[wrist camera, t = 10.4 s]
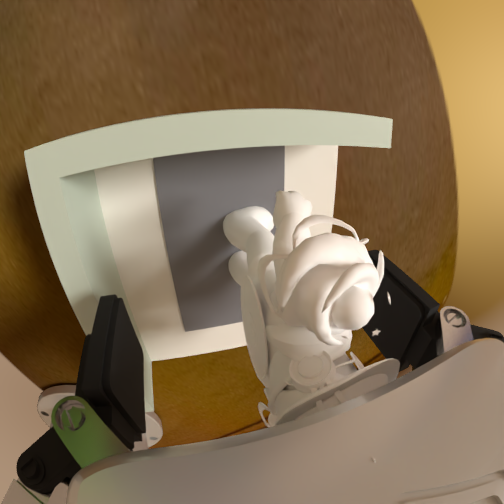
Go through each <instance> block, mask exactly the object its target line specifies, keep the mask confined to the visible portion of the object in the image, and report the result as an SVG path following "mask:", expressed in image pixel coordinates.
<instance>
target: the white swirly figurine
mask: <svg viewBox="0 0 504 504" xmlns="http://www.w3.org/2000/svg"><path fill="white" fill-rule="evenodd" d="M311 212H312V204H311V202H310V201H308V200H306V199H304V198H303V197H302V196H301V194H300V193H298V192H296V191H288V192H285V191H281V190H279V191H277V192H276V203H275V208H274V212H273V217H272V215H271V214H270V212H269V211H268V210H266V209H265V208H263V207H258V206H251V207H246V208H243V209H239V210H235V211H233V212H231V213H230V214H228V215H226V217H225V219H224V221H223V230H224V234H225V236H226V237H227V239H228V240H229V242H230V243H231V244H232V245H234V246H235V247H237V248H238V249H240V250H242V251H239V252H235V253H234V254H233V255H232V256H231V258H230V260H229V264H228V267H229V271H230V274H231V276H232V277H233V279H234V280H235V281H236V282H237V283H238V284H239V285H240V286H241V311H242V320H243V327H244V333H245V338H246V343H247V347H248V351H249V355H250V358H251V361H252V364H253V367H254V369H255V371H256V375H257V377H258V378H259V380H260V381H261V382H262V383H263V384H264V386H265V387H266V388H264V392H265V394H266V396H267V399H268V401H269V402H268V407H269V408H268V407H267V406H266V405H265V404H263V403H261V402H260V403H259V404H258V409H259V412H260V415H261V417H262V420H263V421H264V423H265V425H266V426H267V427H273V426H276V425H280V424H283V423H287V422H290V421H293V420H297V419H300V418H303V417H306V416H309V415H312V414H315V413H318V412H321V411H323V410H326V409H329V408H331V407H334V406H337V405H339V404H342V403H344V402H347V401H349V400H352V399H354V398H357V397H359V396H361V395H364V394H366V393H368V392H370V391H373V390H375V389H377V388H379V387H381V386H383V385H385V384H388V383H390V382H392V381H394V380H395V379H396V377H397V375H398V372H399V369H400V362H399V361H398V360H397V359H393V358H390V359H385V360H383V361H380V362H377V363H374V364H372V365H369V366H367V367H365V368H364V366H363V364H362V363H361V362H360V361H359V359H358V358H357V357H356V356H355V355H354V354H353V353H352V352H350V355H351V357H352V358H353V360H350V359H349V358H348V356H347V355H346V353H345V352H346V351H348V350H349V348H350V343H351V338H352V332H351V330H357V329H359V328H361V327H363V326H365V325H366V324H367V323H368V322H369V320H370V319H371V317H372V316H373V314H374V302H373V297H374V296H375V294H376V292H377V290H378V288H379V286H380V283H381V281H382V278H383V276H384V257H383V253H382V251H381V250H380V252H379V258H378V265H377V270H376V268H375V266H374V265H373V262H372V260H371V258H370V256H369V254H368V252H367V249H366V247H365V244H366V243H367V242H368V241H369V239H368V238H365V239H362V240H359V238H358V236H357V234H356V232H355V230H354V228H353V227H351V226H349V225H348V224H346V223H344V222H343V221H341V220H338V219H335V218H332V217H329V216H326V215H311ZM318 223H332V224H335V225H338V226H342V227H344V228H346V229H348V230H350V231H352V233H353V235H354V237H355V239H354V238H353V237H350V236H341V235H338V234H334V233H323V234H320V235H316V236H313V237H311V234H310V230H309V227H310V226H313V225H315V224H318ZM274 225H275V227H276V232H275V236H274V235H273V234H272V233H271V232H270V231H271V230H272V229H273V227H274ZM388 300H389V303H391V300H390V295H389V293H388ZM379 332H380V331H378V330H377V329H376V330H375V331H373V335H372V336H374V335H378V333H379ZM353 362H355V364H356V365H357V367H358V369H359V370H358V371H357V370H356V368H355V367H354V365H353V364H352V363H353ZM265 409H266V410H268V411H270V412H271V413H270V414H269V418H268V421H269V424H268V423H267V422H266V420H265V419H264V417H263V414H262V411H263V410H265ZM372 459H373V457H372ZM373 461H374V462H375V459H373Z"/></svg>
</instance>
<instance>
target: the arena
mask: <svg viewBox="0 0 504 504" xmlns="http://www.w3.org/2000/svg"><path fill="white" fill-rule="evenodd" d="M392 120H393V119H389V118H383V117H377V116H370V115H363V114H355V113H347V112H337V111H326V110H310V109H279V108H260V109H229V110H213V111H201V112H191V113H182V114H173V115H166V116H159V117H152V118H146V119H140V120H134V121H129V122H124V123H119V124H114V125H110V126H105V127H101V128H96V129H92V130H88V131H84V132H81V133H77V134H73V135H70V136H66V137H63V138H60V139H57V140H54V141H51V142H48V143H45V144H42V145H39V146H37V147H34V148H31V149H29V150H26V151H24V154H25V160H26V166H27V171H28V176H29V181H30V186H31V190H32V194H33V199H34V203H35V207H36V210H37V214H38V218H39V221H40V224H41V228H42V231H43V234H44V237H45V240H46V244H47V246H48V249H49V252H50V255H51V258H52V261H53V263H54V266H55V269H56V271H57V274H58V276H59V279H60V281H61V284H62V286H63V288H64V291H65V293H66V295H67V297H68V300H69V302H70V304H71V306H72V308H73V310H74V313H75V315H76V317H77V319H78V321H79V323H80V325H81V327H82V329H83V331H84V333H85V334H86V336H87V335H88V334H91V333H92V328H93V324H94V320H95V316H96V312H97V308H98V304H99V300H100V297H101V296H106V295H113V294H115V295H117V297H118V298H122V299H123V301H124V304H125V307H126V310H127V312H128V315H129V317H130V320H131V323H132V325H133V328H134V330H135V333H136V335H137V338H138V340H139V342H140V345H141V347H142V350H143V355H144V401H145V412H153V411H154V405H153V388H152V362H151V361H157V360H164V359H172V358H179V357H185V356H191V355H198V354H203V353H209V352H215V351H220V350H226V349H231V348H236V347H241V346H245V345H247V343H246V338H245V333H244V327H243V320H242V311H241V286H240V285H239V284H238V283H237V282H236V281H235V280H234V279H233V277H232V276H231V274H230V271H229V267H228V264H229V260H230V258H231V256H232V255H233V254H234V253H235V252H239V251H242V250H240V249H238V248H237V247H235V246H234V245H232V244H231V243H230V242H229V240H228V239H227V237H226V236H225V234H224V230H223V221H224V219H225V217H226V215H228V214H230V213H231V212H233V211H235V210H239V209H243V208H246V207H251V206H258V207H263V208H265V209H266V210H268V211H269V212H270V214H271V215H272V217H273V212H274V208H275V203H276V192H277V191H279V190H281V191H285V192H288V191H296V192H298V193H300V194H301V196H302V197H303V198H304V199H306V200H308V201H310V202H311V204H312V212H311V215H326V216H329V217H332V218H333V209H334V198H335V186H336V172H337V156H338V145H339V146H365V147H381V148H391V137H392ZM331 229H332V223H318V224H315V225H313V226H310V227H309V230H310V234H311V237H313V236H316V235H320V234H323V233H331ZM270 232H271V233H272V234H273V235H274V236H275V232H276V227H275V225H274V227H273V229H272V230H271V231H270Z"/></svg>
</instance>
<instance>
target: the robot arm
mask: <svg viewBox="0 0 504 504" xmlns="http://www.w3.org/2000/svg"><path fill="white" fill-rule="evenodd" d="M367 252H368V254H369V256H370V258H371V260H372V262H373V265H374V266H375V268H376V270H377V265H378V258H379V251H378V250H372V251H367ZM383 257H384V276H383V278H382V281H381V283H380V286H379V288H378V290H377V292H376V294H375V296H374V297H373V302H374V314H373V316H372V317H371V319H370V320H369V322H368V323H367V324H366V325H365V326H363V327H362V328H363V329H364V331H365V332H366V333H367V334H368V336H369V337H370V338H371V340H372V341H373V342H374V343H375V345H376V346H377V347H378V349H379V350H380V351H381V352H382V354H383V355H384V356H385V358H386V359H390V358H393V359H397V360H398V361H399V362H400V369H399V372H400V371H402V370H404V369H406V368H408V367H409V365H410V364H411V365H412V371H411V372H409V373H408V374H406V375H404V376H402V377H400V378H398V379H396V380H394V381H392V382H390V383H388V384H385V385H383V386H381V387H379V388H377V389H375V390H373V391H370V392H368V393H366V394H364V395H361V396H359V397H357V398H354V399H352V400H349V401H347V402H344V403H342V404H339V405H337V406H334V407H331V408H329V409H326V410H323V411H321V412H318V413H315V414H312V415H309V416H306V417H303V418H300V419H297V420H293V421H290V422H287V423H283V424H280V425H276V426H273V427H269V428H266V429H261V430H257V431H253V432H249V433H245V434H240V435H236V436H231V437H226V438H221V439H215V440H210V441H204V442H198V443H192V444H185V445H178V446H170V447H162V448H154V449H148V447H150V446H152V445H154V444H156V443H157V442H158V441H159V440H160V439H161V437H162V424H161V420H160V419H159V417H158V416H157V415H156V414H155V413H154V412H145V401H144V355H143V350H142V347H141V345H140V342H139V340H138V338H137V335H136V333H135V330H134V328H133V325H132V323H131V320H130V317H129V315H128V312H127V310H126V307H125V304H124V301H123V299H122V298H118V297H117V295H115V294H113V295H106V296H101V297H100V300H99V304H98V308H97V312H96V316H95V320H94V324H93V328H92V333H91V334H88V335H87V336H86V338H85V342H84V346H83V351H82V356H81V361H80V366H79V372H78V378H77V384H76V385H60V386H54V387H51V388H48V389H46V390H44V391H43V392H42V393H41V395H40V396H39V400H38V405H37V410H38V413H39V415H40V416H41V418H42V419H43V421H44V422H45V423H46V424H47V425H48V426H49V427H50V429H49V430H48V431H47V432H46V433H45V434H44V435H43V436H42V437H40V438H39V439H38V440H37V441H36V442H35V443H33V444H32V445H31V446H30V447H29V448H28V449H27V450H26V451H25V452H23V453H22V454H21V456H20V457H19V459H18V462H17V474H18V477H19V478H18V480H15V479H13V481H12V483H11V485H10V487H9V489H8V491H7V493H6V495H5V497H4V499H3V501H2V503H1V504H504V337H503V335H502V334H501V333H499V332H497V331H494V330H490V329H486V328H482V327H478V326H474V325H470V322H469V318H468V316H467V315H466V314H465V313H464V312H463V311H462V310H460V309H458V308H456V307H453V306H447V307H444V308H442V309H441V311H440V313H439V312H438V311H437V310H438V307H439V305H440V304H439V303H437V302H436V301H435V300H434V299H433V298H432V297H431V296H430V295H429V294H428V293H427V292H426V291H424V290H423V289H422V288H421V287H420V286H419V285H418V284H417V283H416V282H414V281H413V280H412V279H411V278H410V277H409V276H408V275H406V274H405V273H404V272H403V271H402V270H401V269H399V268H398V267H397V266H396V265H395V264H394V263H392V262H391V261H390V260H389V259H388V258H386V257H385V256H384V255H383ZM388 293H389V295H390V300H391V303H389V300H388ZM376 329H377V330H378V331H380V332H379V333H378V335H374V336H372V335H373V331H375V330H376ZM372 457H373V459H375V462H374V461H373V459H372Z"/></svg>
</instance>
